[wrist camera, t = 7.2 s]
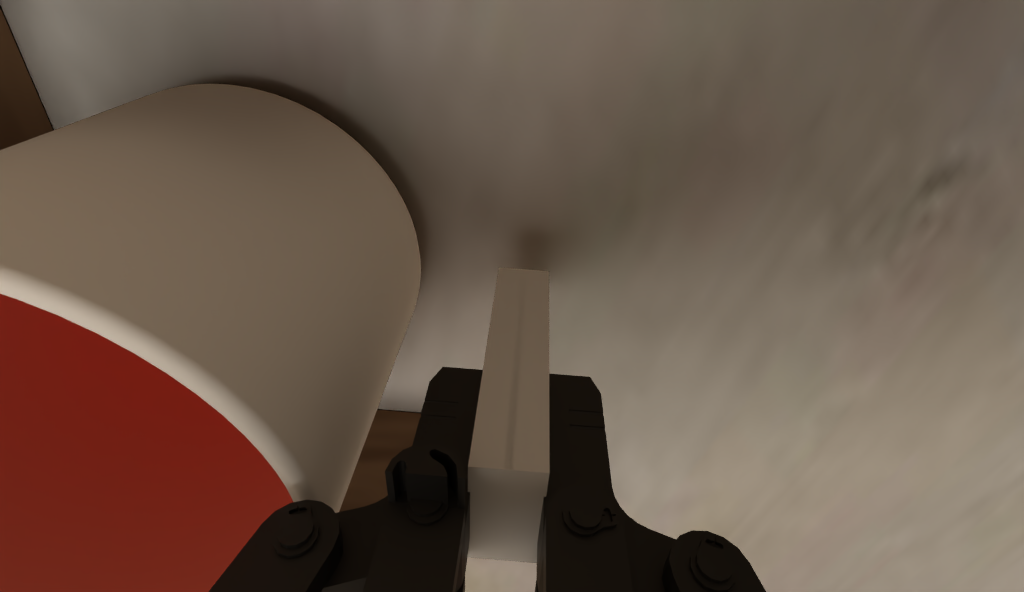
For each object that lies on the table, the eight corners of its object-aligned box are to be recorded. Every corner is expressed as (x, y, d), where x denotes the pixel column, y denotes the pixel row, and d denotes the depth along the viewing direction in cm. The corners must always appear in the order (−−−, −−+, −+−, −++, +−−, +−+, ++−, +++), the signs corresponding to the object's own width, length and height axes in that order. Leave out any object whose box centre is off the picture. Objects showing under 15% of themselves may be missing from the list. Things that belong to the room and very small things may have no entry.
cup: (55, 95, 15) (-536, 274, 7) (385, 51, 14) (147, 202, 6) (208, 357, 21) (-22, 633, 12) (454, 342, 19) (384, 635, 11)
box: (-100, -131, 12) (-533, -181, 7) (443, -95, 12) (371, -123, 7) (150, 406, 22) (36, 537, 17) (450, 432, 22) (422, 572, 17)
